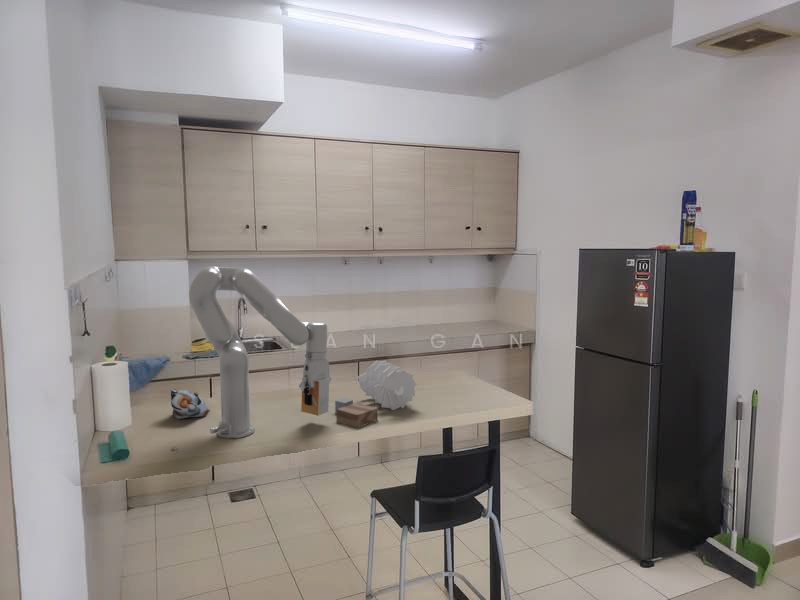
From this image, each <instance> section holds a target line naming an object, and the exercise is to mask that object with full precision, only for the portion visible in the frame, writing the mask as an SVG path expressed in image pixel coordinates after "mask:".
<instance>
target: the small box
mask: <svg viewBox="0 0 800 600" xmlns="http://www.w3.org/2000/svg"><path fill="white" fill-rule="evenodd" d="M301 379H302V380H301V382H302V381H303V377H302V378H301ZM307 385H308V383H307ZM308 386H309V385H308ZM308 390H309V388H308ZM311 395H312V405H306V404H305V403H304V400H305V394H304V393H303V392H302V391H301V409H300V411H301V413H305V414H311V415H314V416H317V417H318V416H321V415H323V414H326V413H328V412H329V404H330V403H329V398H330V397H329V395H330V383H329V378H325V379H321V380H317V381H316V387H315V388H312V392H311Z"/></svg>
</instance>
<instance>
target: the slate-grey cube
mask: <svg viewBox="0 0 800 600" xmlns="http://www.w3.org/2000/svg"><path fill="white" fill-rule="evenodd" d="M334 401H335V402H334V403H335V404H334V409H335V410H334V411H335V412H334V413H336V414H337V409H339V408H342V407H345V406H348V405H351V404H354V400H353V399H349V398H345V397H343V398H339V399H336V400H334Z"/></svg>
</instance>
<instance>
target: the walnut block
mask: <svg viewBox="0 0 800 600" xmlns="http://www.w3.org/2000/svg"><path fill="white" fill-rule="evenodd" d="M375 420H376V421H378V407H375V406H371V405H367V404H363V403H359V402H353V404H351V405H348V406H345V407H342V408H339V409H337V413H336V422H339V423H341V422H342V423H341V424H344V423H345V424H344V425H347V424H348V425H347V426H351V425H352V427H354V426H355V427H354V428H357V427H358V428H360V427H362V426H361V425H363V426H365V425H364V424H366V425H368V424H370V422H371V423H373V421H374V422H375ZM367 423H368V424H367ZM359 426H360V427H359Z"/></svg>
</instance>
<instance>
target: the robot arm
mask: <svg viewBox="0 0 800 600" xmlns="http://www.w3.org/2000/svg"><path fill="white" fill-rule="evenodd" d="M217 291H229V292H230V291H231V292H232V291H233V292H234V291H236V293H238V294H239V295H240V296H241V297H242V298H243V299H244V300H245V301H246V303H249V304H250V306H252V308H254V309H255V310H256V312H258V314H260V315H261V316H262V318H264V319H265V320H267V321H268V322H269V323H270V324H271V325H272V326H273V327H274V328H275V329H276V330H277V331H278V332H280V333H281V334H282V336H284V337H285V338H286V339H287V340H288V341H289V343H291V344H292V345H295V346H302V345H306V346H305V355H304V357H305V360H304V362H303V363H304V364H303V370H302V371H303V372H302V378H303V381H302V380H301V382H300V384H299V385H298V387H299V388H300V390H301V393H302V392H303V393H304V394H305V400H304V403H305V404H306V405H312V395H311V392H312V388H315V387H316V381H317V380H321V379H325V378H329V384H330V383H331V381H332V378H331V376H330V375H331V374H330V362H329V359H328V357H327V356H328V354H327V350H328V349H327V348H328V347H327V346H328V324H327V323H325V322H322V321H311V322H308V321H300V320H299V319H298V318H297V317H296V316H295V315H294V314H293V313H292V311H290V310H289V309H288V308H287V307H286V305H285V304H284V303H283V301H281V299H280V298H279V297H278V296H277V295H276V294H275V293H274V292H273V291H272V289H270V288H269V287H268V286H267V285H266V284H265V283H264V282H263V281H262V280H261V279H260V278H259V277H258V276H257V275H256V274H255V273H254V272H253V271H252V270H250V269H249V268H246V267H245V268H244V267H226V266H214V265H213V266H211V265H210V266H205V267H202V268H201V269H200V270H199V271H198V273H197V274H196V275H195V277H194V279H193V280H192V282H191V284H190V286H189V291H188V298H189V303H190V305H191V309H192V310H193V312H194V314H195V316H196V318H197V321H198V323H199V324H200V326H201V328H202V329H203V332H204V334H205V337H206V339H207V340H208V341H209V342H210V343H211V344H212V346H213V348H214V350H215V351H216V353H217V355H218V358H219V375H220V376H219V377H220V380H219V381H220V383H219V384H220V399H221V401H220V405H221V407H220V408H221V421H219V423H218V425H217V426H214V427H211V428H210V429H209V433H210V434H211V435H213V434H215V433H216V434H217V435H218V437H220V438H223V439H240V438H245V437H247V436H250V435H252V434H253V433H254V432H255V426H254V425H252V424H251V422H250V421H251V420H250V389H249V388H250V387H249V383H250V382H249V379H250V378H249V371H250V370H249V369H250V367H249V366H250V365H249V364H250V362H249V355H248V352H247V349H246V347H245V344H244V343H243V342H242V339H241V338H240V336H239V333H238V331H237V330H236V327H235V326H234V324H233V322H232V321H231V319H230V318H228V317H227V316H226V315H225V312H224V311H223V309H222V306H221V305H220V302H219V301H218V299H217ZM307 383H308V385H309V386H308V385H307ZM308 388H309V390H308Z"/></svg>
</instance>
